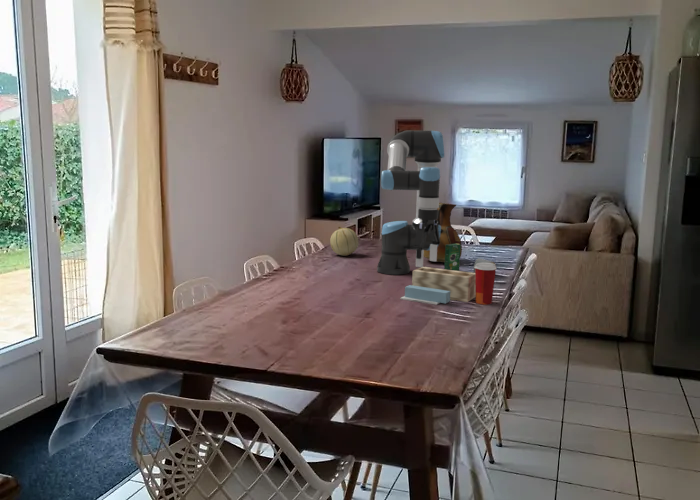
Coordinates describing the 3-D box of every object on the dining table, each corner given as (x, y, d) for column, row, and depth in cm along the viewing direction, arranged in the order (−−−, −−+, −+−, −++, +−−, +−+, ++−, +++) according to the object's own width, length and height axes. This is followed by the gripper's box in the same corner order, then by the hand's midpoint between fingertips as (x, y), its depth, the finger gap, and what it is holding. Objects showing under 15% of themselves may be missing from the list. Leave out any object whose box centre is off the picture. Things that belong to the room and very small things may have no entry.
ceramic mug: (489, 278, 290) (490, 261, 288) (472, 275, 295) (473, 259, 293) (499, 275, 298) (500, 258, 297) (483, 272, 303) (484, 256, 302)
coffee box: (455, 270, 307) (456, 242, 304) (459, 271, 305) (461, 243, 302) (443, 272, 302) (444, 244, 299) (448, 273, 299) (449, 245, 297)
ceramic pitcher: (467, 260, 330) (470, 202, 324) (451, 267, 313) (454, 205, 308) (432, 256, 340) (434, 199, 335) (414, 262, 323) (416, 202, 318)
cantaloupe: (358, 258, 331) (358, 229, 329) (329, 257, 332) (329, 228, 329) (358, 253, 346) (358, 225, 343) (330, 252, 346) (331, 224, 343)
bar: (450, 301, 246) (450, 291, 246) (445, 303, 243) (446, 293, 242) (409, 294, 255) (409, 285, 255) (404, 296, 252) (405, 286, 251)
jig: (475, 296, 257) (477, 273, 255) (467, 302, 248) (468, 277, 246) (421, 289, 268) (422, 266, 266) (411, 294, 259) (412, 270, 258)
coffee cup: (495, 301, 250) (498, 263, 248) (493, 306, 243) (495, 267, 240) (474, 299, 253) (476, 261, 250) (470, 304, 245) (472, 265, 243)
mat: (409, 295, 258) (409, 293, 258) (444, 300, 250) (444, 298, 250) (400, 299, 251) (400, 297, 251) (436, 304, 244) (436, 303, 243)
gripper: (431, 205, 256) (429, 257, 260) (405, 211, 235) (403, 268, 239) (449, 206, 253) (447, 259, 257) (424, 212, 231) (422, 270, 235)
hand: (426, 264), depth 248 cm, fingers open, 13 cm apart
